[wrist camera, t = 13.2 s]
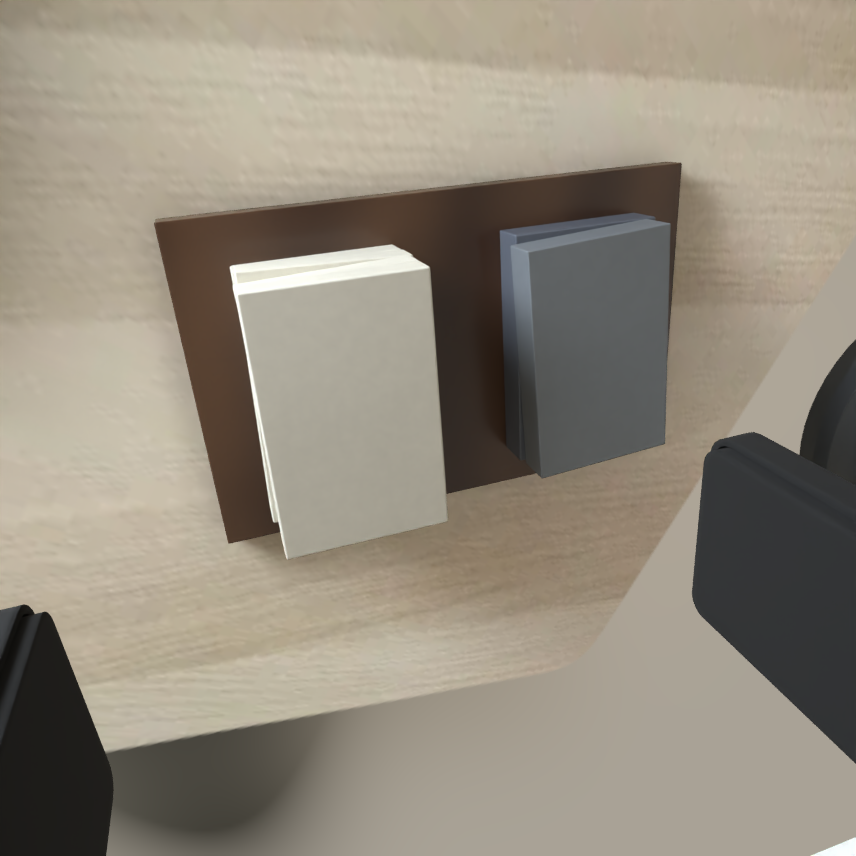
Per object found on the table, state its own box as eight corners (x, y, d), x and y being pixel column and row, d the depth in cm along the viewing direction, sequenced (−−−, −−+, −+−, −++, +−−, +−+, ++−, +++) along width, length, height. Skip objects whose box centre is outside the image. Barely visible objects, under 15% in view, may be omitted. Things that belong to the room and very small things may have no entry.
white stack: (398, 238, 30) (428, 253, 27) (419, 469, 35) (447, 509, 31) (220, 261, 28) (225, 280, 25) (268, 502, 33) (278, 548, 29)
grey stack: (635, 212, 33) (682, 220, 30) (625, 423, 38) (664, 450, 35) (493, 230, 31) (527, 242, 28) (500, 450, 36) (531, 481, 33)
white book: (419, 259, 27) (430, 266, 25) (438, 506, 31) (449, 522, 30) (233, 285, 25) (235, 293, 24) (282, 542, 29) (286, 561, 28)
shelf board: (666, 161, 34) (682, 162, 33) (649, 436, 40) (661, 445, 39) (154, 219, 28) (153, 222, 27) (227, 531, 34) (228, 544, 33)
